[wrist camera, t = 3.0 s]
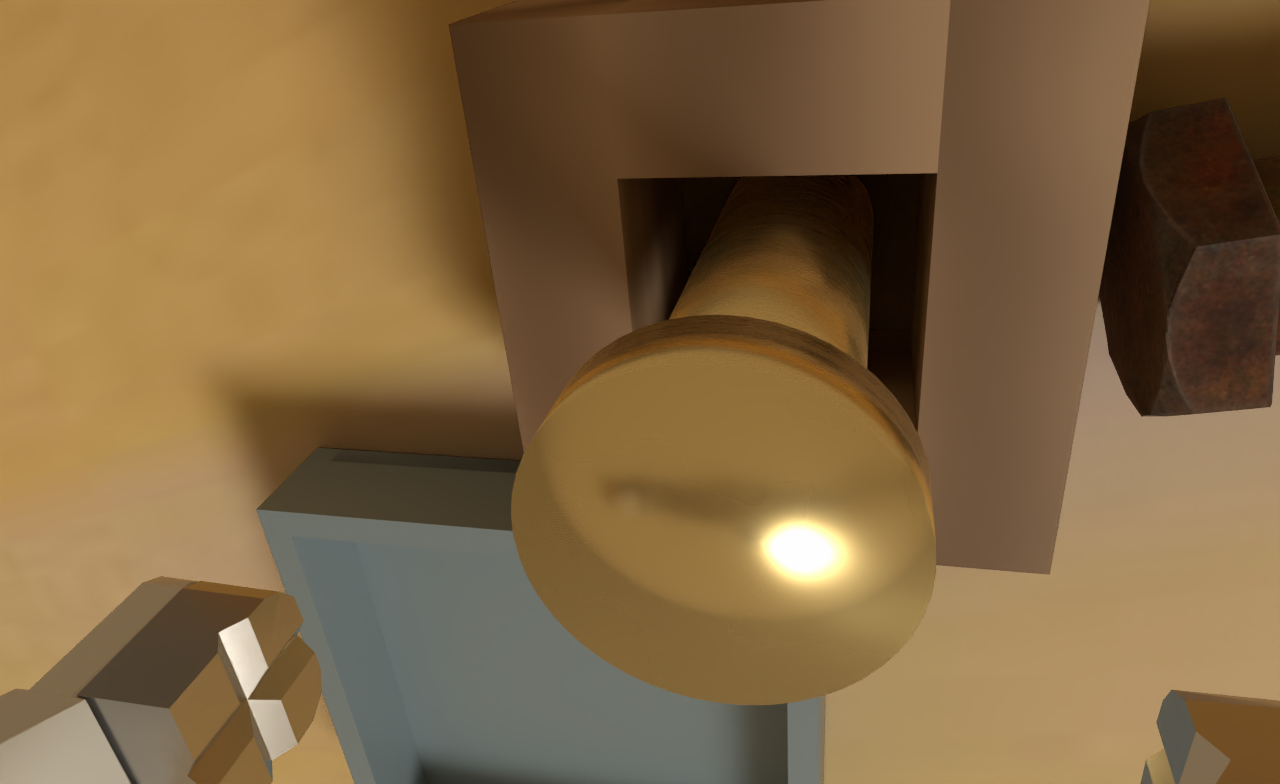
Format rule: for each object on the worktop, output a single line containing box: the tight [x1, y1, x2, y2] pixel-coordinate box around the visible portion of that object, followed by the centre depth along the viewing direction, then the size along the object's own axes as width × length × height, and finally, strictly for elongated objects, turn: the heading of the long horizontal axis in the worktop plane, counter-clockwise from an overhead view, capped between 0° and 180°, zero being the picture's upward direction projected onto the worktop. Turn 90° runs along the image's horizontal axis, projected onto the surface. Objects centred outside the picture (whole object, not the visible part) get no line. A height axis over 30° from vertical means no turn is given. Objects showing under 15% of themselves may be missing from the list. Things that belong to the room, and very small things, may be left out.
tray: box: [256, 448, 825, 784], centre depth 27 cm, size 15×15×3 cm
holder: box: [449, 0, 1150, 574], centre depth 17 cm, size 10×10×5 cm
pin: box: [511, 175, 936, 705], centre depth 15 cm, size 5×5×11 cm
